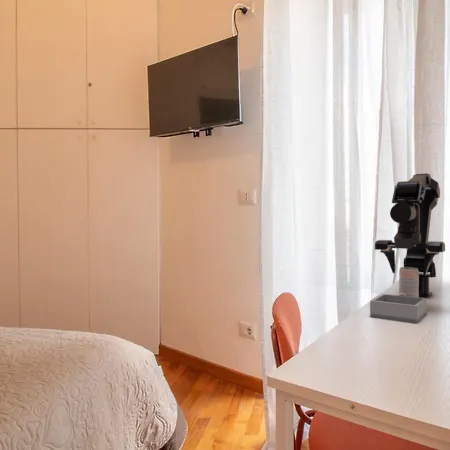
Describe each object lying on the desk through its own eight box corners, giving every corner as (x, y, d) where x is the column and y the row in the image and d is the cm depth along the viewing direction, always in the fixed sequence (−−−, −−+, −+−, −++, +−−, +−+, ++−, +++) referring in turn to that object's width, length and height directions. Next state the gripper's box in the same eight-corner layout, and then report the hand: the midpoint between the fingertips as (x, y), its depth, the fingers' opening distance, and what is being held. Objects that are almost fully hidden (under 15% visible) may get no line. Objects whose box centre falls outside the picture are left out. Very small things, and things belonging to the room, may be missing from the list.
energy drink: (414, 305, 125) (415, 266, 125) (421, 309, 120) (421, 269, 119) (396, 305, 126) (396, 266, 125) (402, 309, 120) (402, 269, 120)
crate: (382, 308, 122) (382, 293, 121) (426, 314, 114) (426, 298, 114) (370, 316, 112) (370, 300, 112) (417, 323, 105) (417, 306, 105)
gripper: (369, 223, 121) (369, 275, 122) (438, 223, 110) (438, 280, 110) (380, 222, 130) (380, 270, 130) (445, 222, 119) (445, 275, 119)
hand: (408, 274), depth 122 cm, fingers open, 8 cm apart
